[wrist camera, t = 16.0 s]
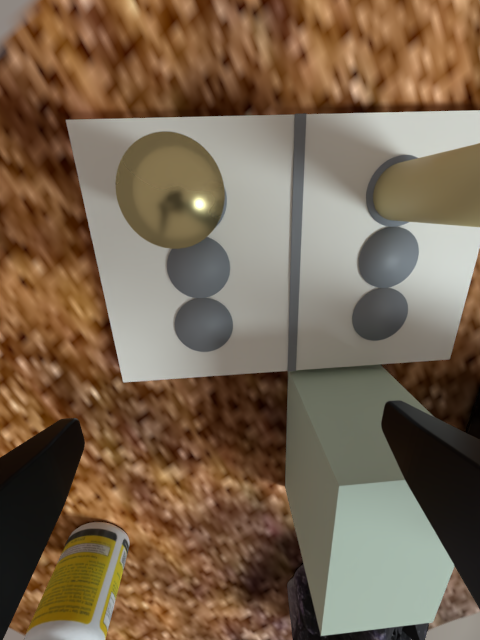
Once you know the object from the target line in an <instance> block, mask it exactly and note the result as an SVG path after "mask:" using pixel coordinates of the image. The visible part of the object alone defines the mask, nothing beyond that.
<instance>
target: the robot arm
mask: <svg viewBox="0 0 480 640" xmlns="http://www.w3.org/2000/svg"><path fill="white" fill-rule="evenodd" d="M381 428H382V431H383V433H384V436H385V438H386V440H387V442H388V444H389V446H390V449H391V451H392V453H393V455H394V457H395V460H396V462H397V464H398V466H399V468H400V470H401V473H402V475H403V477H404V479H405V481H406V482H407V484H408V486H409V488H410V490H411V491H412V493H413V495H414V497H415V498H416V500H417V502H418V503H419V505H420V507H421V509H422V510H423V512H424V514H425V516H426V517H427V519H428V521H429V522H430V524H431V526H432V528H433V529H434V531H435V533H436V534H437V536H438V538H439V540H440V541H441V543H442V545H443V547H444V548H445V550H446V552H447V553H448V555H449V557H450V559H451V560H452V562H453V564H454V566H455V567H456V569H457V571H458V572H459V574H460V576H461V578H462V579H463V581H464V583H465V585H466V586H467V588H468V590H469V591H470V593H471V595H472V597H473V598H474V600H475V602H476V603H477V605H478V607H479V609H480V390H479V393H478V396H477V399H476V402H475V405H474V408H473V411H472V414H471V418H470V421H469V424H468V427H467V430H466V433H465V432H463V431H461V430H459V429H457V428H455V427H453V426H451V425H449V424H447V423H445V422H443V421H441V420H439V419H437V418H435V417H433V416H431V415H429V414H427V413H425V412H423V411H421V410H419V409H417V408H415V407H413V406H411V405H409V404H407V403H405V402H403V401H400V400H395V401H387V402H386V403H385V406H384V411H383V416H382V421H381ZM84 445H85V442H84V437H83V433H82V430H81V426H80V423H79V420H78V419H76V418H67V419H61V420H59V421H57V422H56V423H54V424H53V425H51V426H49V427H48V428H46V429H45V430H43V431H42V432H40V433H38V434H37V435H35V436H34V437H32V438H30V439H29V440H27V441H26V442H24V443H23V444H21V445H19V446H18V447H16V448H15V449H13V450H12V451H10V452H8V453H7V454H5V455H4V456H2V457H1V458H0V640H3V638H4V636H5V634H6V631H7V629H8V627H9V625H10V623H11V621H12V618H13V616H14V614H15V612H16V610H17V607H18V605H19V603H20V601H21V599H22V597H23V594H24V592H25V590H26V588H27V586H28V583H29V581H30V579H31V577H32V575H33V573H34V570H35V568H36V566H37V564H38V562H39V559H40V557H41V555H42V553H43V551H44V548H45V546H46V544H47V542H48V540H49V538H50V535H51V533H52V531H53V529H54V527H55V524H56V522H57V520H58V518H59V516H60V513H61V511H62V509H63V507H64V504H65V502H66V499H67V496H68V493H69V491H70V488H71V485H72V482H73V479H74V476H75V473H76V470H77V467H78V464H79V462H80V459H81V456H82V453H83V450H84Z"/></svg>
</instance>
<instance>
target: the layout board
mask: <svg viewBox="0 0 480 640" xmlns="http://www.w3.org/2000/svg"><path fill="white" fill-rule="evenodd" d="M66 124H67V128H68V133H69V137H70V142H71V146H72V151H73V156H74V160H75V165H76V169H77V174H78V178H79V183H80V188H81V192H82V197H83V201H84V206H85V210H86V215H87V219H88V224H89V229H90V233H91V238H92V242H93V247H94V251H95V256H96V260H97V265H98V270H99V274H100V279H101V283H102V288H103V292H104V297H105V301H106V306H107V311H108V315H109V320H110V324H111V329H112V333H113V338H114V343H115V347H116V352H117V356H118V361H119V365H120V370H121V374H122V379H123V382H136V381H150V380H164V379H179V378H193V377H207V376H221V375H236V374H250V373H264V372H278V371H288V372H291V371H296V370H307V369H321V368H335V367H350V366H364V365H378V364H393V363H407V362H421V361H435V360H450V357H451V353H452V350H453V346H454V342H455V338H456V334H457V331H458V327H459V323H460V319H461V316H462V312H463V308H464V304H465V300H466V297H467V293H468V289H469V285H470V282H471V278H472V274H473V270H474V266H475V263H476V259H477V255H478V251H479V248H480V110H471V111H427V112H383V113H340V114H295V115H252V116H208V117H165V118H121V119H77V120H66ZM161 131H170V132H176V133H180V134H183V135H186V136H188V137H190V138H192V139H193V140H195V141H196V142H198V143H199V144H200V145H202V146H203V147H204V148H205V149H206V150H207V151H208V152H209V153H210V155H211V156H212V157H213V159H214V160H215V162H216V164H217V166H218V168H219V170H220V173H221V175H222V179H223V183H224V190H225V200H224V207H223V212H222V215H221V218H220V220H219V222H218V224H217V226H216V227H215V228H214V230H213V231H212V232H211V233H210V234H209V235H208V236H207V237H206V238H205V239H204V240H202V241H201V242H199V243H197V244H195V245H193V246H190V247H186V248H180V249H170V248H164V247H160V246H157V245H154V244H152V243H150V242H148V241H146V240H145V239H143V238H142V237H141V236H139V235H138V234H137V233H136V232H135V231H134V230H133V229H132V228H131V227H130V225H129V224H128V222H127V221H126V220H125V218H124V216H123V214H122V212H121V210H120V207H119V204H118V201H117V196H116V184H115V182H116V174H117V169H118V166H119V163H120V161H121V159H122V157H123V155H124V153H125V152H126V151H127V149H128V148H129V147H130V146H131V145H132V144H133V143H134V142H135V141H137V140H138V139H140V138H141V137H143V136H146V135H148V134H151V133H154V132H161Z"/></svg>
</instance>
